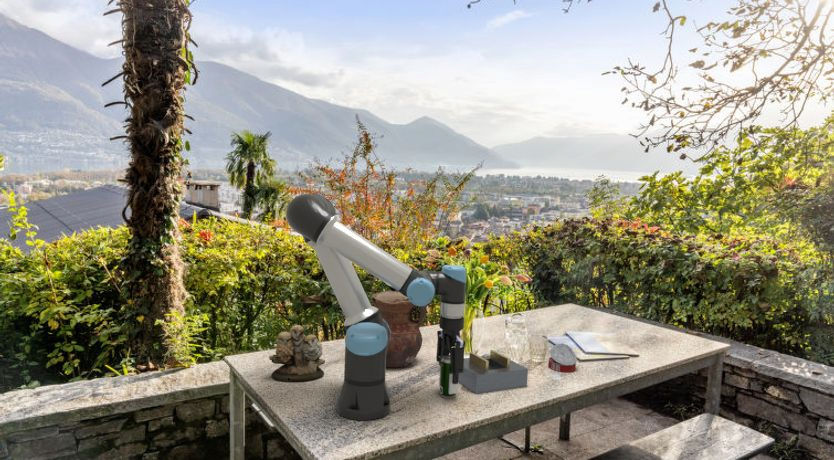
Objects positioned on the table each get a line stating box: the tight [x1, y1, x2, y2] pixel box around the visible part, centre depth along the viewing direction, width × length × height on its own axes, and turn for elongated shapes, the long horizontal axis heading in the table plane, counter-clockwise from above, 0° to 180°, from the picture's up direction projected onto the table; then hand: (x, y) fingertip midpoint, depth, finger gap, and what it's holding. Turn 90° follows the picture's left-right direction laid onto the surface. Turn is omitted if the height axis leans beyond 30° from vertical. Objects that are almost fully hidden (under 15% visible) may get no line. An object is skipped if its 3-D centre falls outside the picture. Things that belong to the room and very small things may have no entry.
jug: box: [370, 290, 427, 368], centre depth 182 cm, size 22×21×25 cm
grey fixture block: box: [458, 349, 529, 395], centre depth 168 cm, size 23×18×9 cm
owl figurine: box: [268, 324, 326, 383], centre depth 163 cm, size 18×12×17 cm, turn 108°
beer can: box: [438, 354, 458, 399], centre depth 153 cm, size 5×5×12 cm
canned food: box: [547, 343, 578, 374], centre depth 185 cm, size 11×10×10 cm
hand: (448, 389), depth 153 cm, fingers closed on beer can, 5 cm apart
